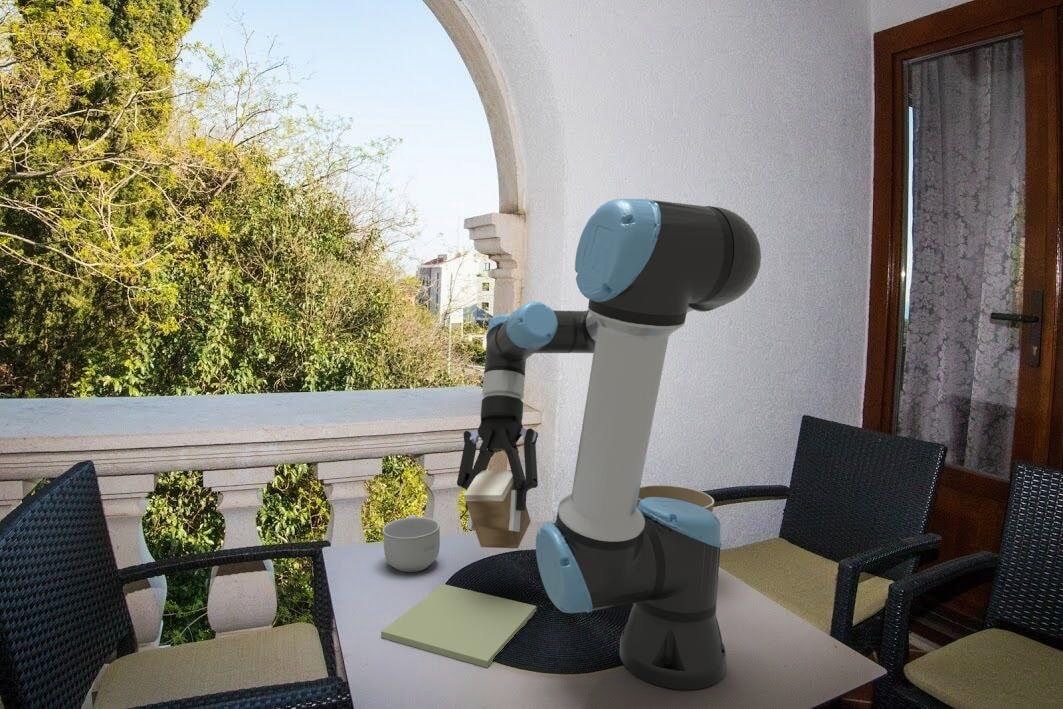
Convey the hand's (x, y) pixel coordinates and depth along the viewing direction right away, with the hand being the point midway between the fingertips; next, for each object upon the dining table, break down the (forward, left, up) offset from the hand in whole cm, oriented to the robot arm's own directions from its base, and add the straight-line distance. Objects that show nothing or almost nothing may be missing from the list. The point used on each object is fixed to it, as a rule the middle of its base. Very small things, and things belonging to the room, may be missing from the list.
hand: (493, 530), depth 108 cm
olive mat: (-5, +7, -13) cm, 15 cm away
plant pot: (-5, -35, -13) cm, 38 cm away
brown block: (+3, -4, -2) cm, 5 cm away
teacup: (+21, +7, -13) cm, 26 cm away
